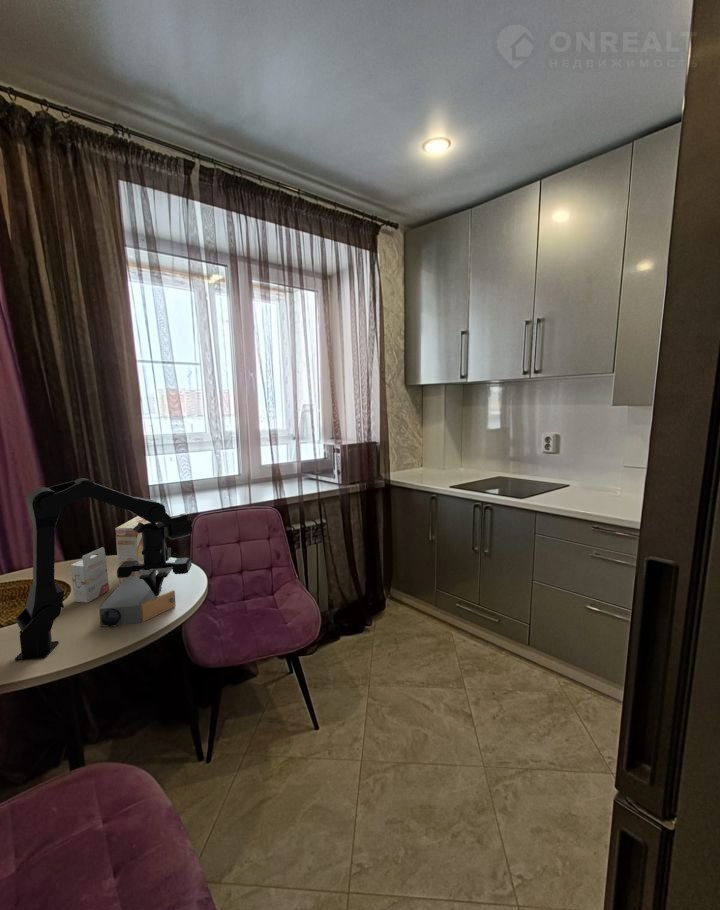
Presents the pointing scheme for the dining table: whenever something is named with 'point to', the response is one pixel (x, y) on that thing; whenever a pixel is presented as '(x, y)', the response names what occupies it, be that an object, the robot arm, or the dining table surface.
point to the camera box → (126, 602)
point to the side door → (158, 605)
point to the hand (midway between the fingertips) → (157, 595)
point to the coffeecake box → (129, 544)
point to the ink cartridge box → (90, 576)
